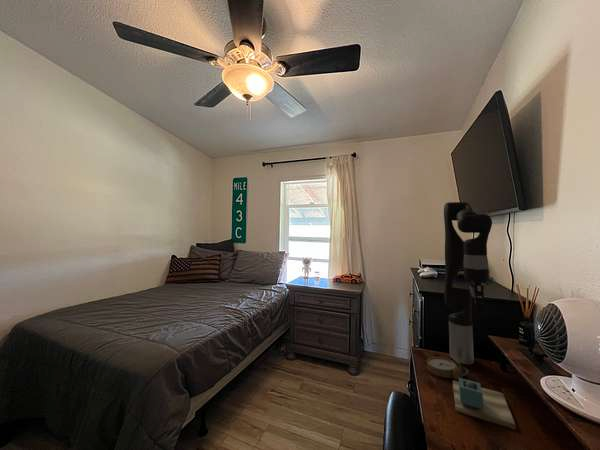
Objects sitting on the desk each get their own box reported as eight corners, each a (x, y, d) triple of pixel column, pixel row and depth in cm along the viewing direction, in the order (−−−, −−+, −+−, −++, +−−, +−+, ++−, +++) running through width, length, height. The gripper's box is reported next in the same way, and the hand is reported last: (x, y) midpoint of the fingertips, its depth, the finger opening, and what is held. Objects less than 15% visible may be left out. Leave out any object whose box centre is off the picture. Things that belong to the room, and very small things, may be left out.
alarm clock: (427, 354, 108) (466, 358, 100) (430, 366, 108) (469, 370, 99) (424, 365, 99) (466, 371, 91) (426, 378, 98) (469, 384, 90)
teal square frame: (459, 392, 83) (458, 377, 83) (480, 398, 80) (479, 383, 80) (460, 402, 78) (460, 387, 78) (483, 409, 75) (482, 393, 75)
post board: (452, 384, 91) (452, 361, 91) (502, 397, 83) (501, 373, 84) (455, 410, 77) (454, 384, 78) (515, 429, 70) (514, 400, 70)
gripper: (461, 264, 96) (463, 304, 95) (465, 268, 84) (467, 314, 83) (484, 265, 92) (486, 306, 92) (492, 270, 80) (494, 318, 79)
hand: (477, 310), depth 87 cm, fingers open, 8 cm apart
